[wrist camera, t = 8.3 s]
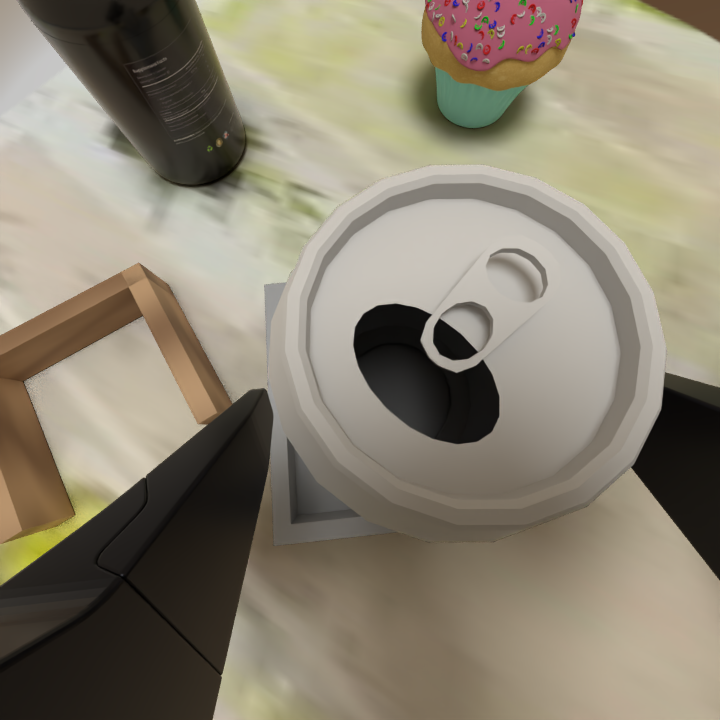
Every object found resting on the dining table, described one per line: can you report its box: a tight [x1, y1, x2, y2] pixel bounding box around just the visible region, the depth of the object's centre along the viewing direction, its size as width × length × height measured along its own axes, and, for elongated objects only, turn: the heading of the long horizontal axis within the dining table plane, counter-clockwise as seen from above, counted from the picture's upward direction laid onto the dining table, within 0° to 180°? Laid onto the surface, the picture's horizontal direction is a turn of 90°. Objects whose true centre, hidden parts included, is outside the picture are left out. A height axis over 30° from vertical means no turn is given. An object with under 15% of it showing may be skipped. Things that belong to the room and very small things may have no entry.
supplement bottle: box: [17, 0, 245, 185], centre depth 15 cm, size 7×7×12 cm
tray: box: [264, 282, 397, 546], centre depth 16 cm, size 13×13×2 cm
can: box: [268, 165, 667, 542], centre depth 11 cm, size 8×8×12 cm
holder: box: [0, 263, 232, 544], centre depth 16 cm, size 9×10×2 cm
